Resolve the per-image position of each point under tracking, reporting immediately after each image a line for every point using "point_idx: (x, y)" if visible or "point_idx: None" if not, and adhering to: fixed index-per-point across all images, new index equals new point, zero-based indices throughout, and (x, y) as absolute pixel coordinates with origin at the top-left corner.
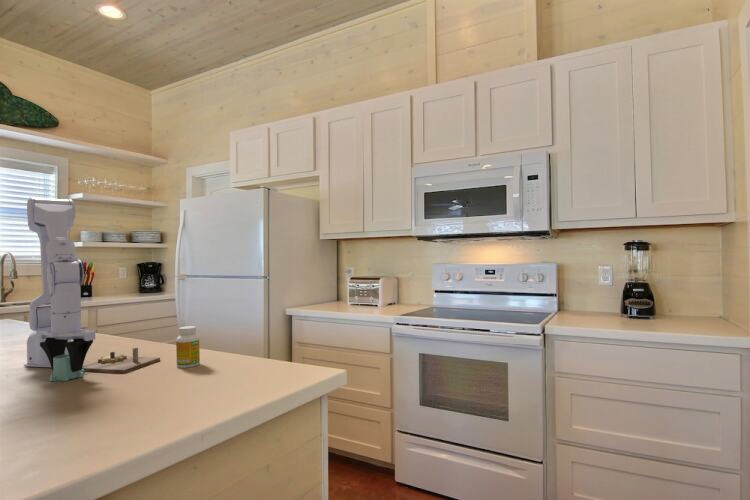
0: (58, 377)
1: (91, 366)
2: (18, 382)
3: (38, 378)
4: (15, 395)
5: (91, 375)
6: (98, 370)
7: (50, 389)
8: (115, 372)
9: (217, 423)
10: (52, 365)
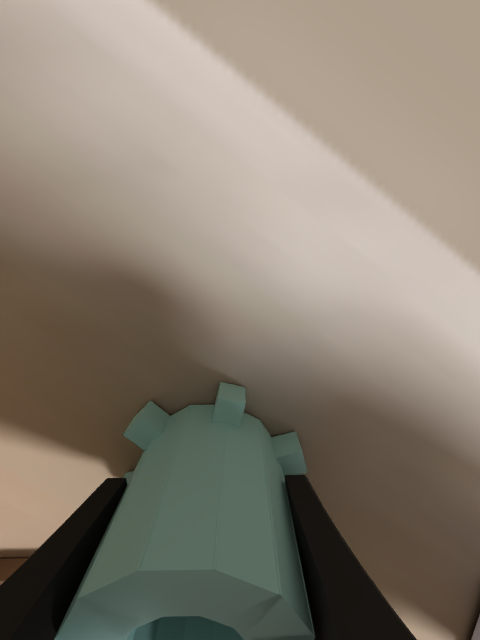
0: (193, 416)
1: None
2: (443, 332)
3: (384, 418)
4: (148, 77)
5: None
6: None
7: (48, 252)
8: (18, 561)
9: None
10: (302, 508)
